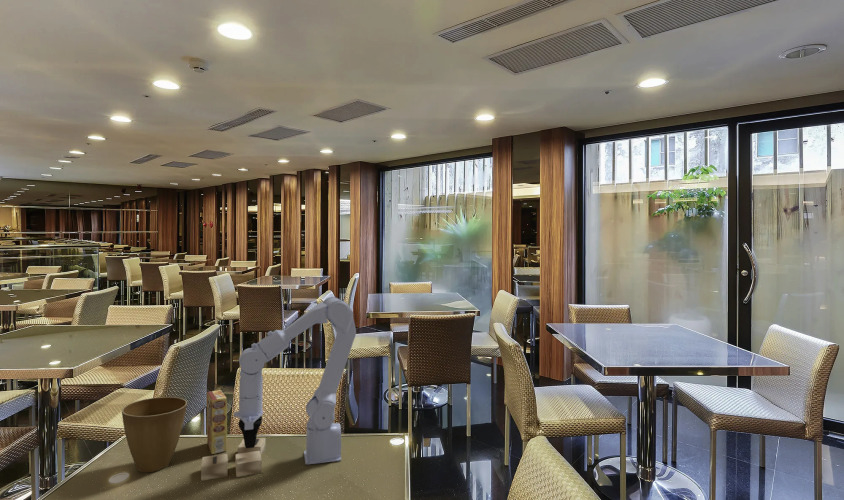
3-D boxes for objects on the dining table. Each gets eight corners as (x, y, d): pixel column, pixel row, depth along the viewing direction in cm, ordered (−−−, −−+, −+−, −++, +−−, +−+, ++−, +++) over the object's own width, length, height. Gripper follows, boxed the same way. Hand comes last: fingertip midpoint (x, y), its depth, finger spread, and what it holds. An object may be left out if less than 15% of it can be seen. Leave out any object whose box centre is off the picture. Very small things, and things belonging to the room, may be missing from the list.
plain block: (259, 463, 126) (259, 450, 126) (261, 473, 120) (261, 460, 120) (235, 467, 123) (235, 454, 123) (236, 477, 118) (236, 464, 118)
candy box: (227, 451, 132) (227, 397, 132) (211, 455, 130) (211, 400, 130) (221, 440, 140) (221, 389, 139) (205, 443, 137) (206, 391, 137)
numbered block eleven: (265, 449, 134) (265, 437, 134) (260, 459, 128) (260, 446, 128) (243, 450, 134) (243, 437, 134) (237, 460, 128) (237, 446, 128)
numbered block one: (227, 466, 124) (227, 453, 124) (227, 477, 118) (227, 462, 118) (202, 470, 121) (202, 456, 121) (201, 481, 116) (201, 466, 116)
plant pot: (114, 484, 113) (115, 418, 113) (127, 458, 127) (128, 399, 127) (183, 474, 119) (184, 411, 119) (188, 450, 133) (189, 393, 132)
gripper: (236, 388, 128) (236, 437, 128) (231, 405, 114) (230, 461, 114) (264, 386, 130) (263, 434, 130) (262, 403, 116) (261, 457, 116)
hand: (250, 446), depth 122 cm, fingers closed
